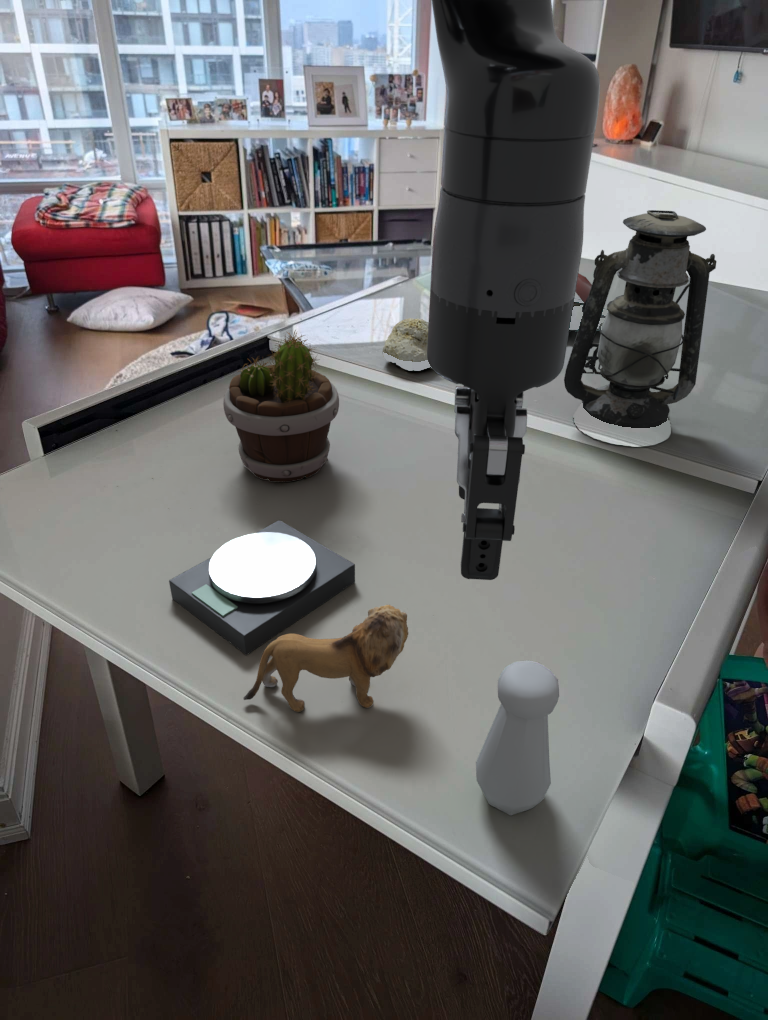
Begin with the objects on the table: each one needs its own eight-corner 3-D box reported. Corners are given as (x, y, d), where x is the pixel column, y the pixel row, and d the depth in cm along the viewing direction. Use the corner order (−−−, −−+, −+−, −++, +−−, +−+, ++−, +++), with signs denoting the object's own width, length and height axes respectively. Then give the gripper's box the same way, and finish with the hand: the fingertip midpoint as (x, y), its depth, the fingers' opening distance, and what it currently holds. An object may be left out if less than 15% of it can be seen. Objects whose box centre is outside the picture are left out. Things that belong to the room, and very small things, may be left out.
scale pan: (256, 619, 72) (256, 613, 72) (187, 570, 78) (186, 564, 78) (338, 567, 79) (338, 561, 78) (268, 525, 85) (268, 519, 84)
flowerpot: (211, 455, 103) (193, 312, 92) (310, 428, 110) (305, 293, 99) (255, 506, 93) (241, 353, 82) (362, 473, 100) (362, 327, 89)
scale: (246, 655, 72) (243, 634, 71) (171, 598, 79) (168, 578, 77) (355, 582, 81) (355, 562, 80) (280, 537, 88) (279, 518, 86)
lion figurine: (399, 661, 72) (402, 587, 67) (412, 703, 67) (416, 628, 62) (242, 682, 69) (233, 608, 64) (245, 728, 65) (236, 652, 60)
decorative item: (374, 325, 134) (427, 302, 132) (394, 370, 138) (445, 348, 136) (373, 342, 123) (430, 318, 122) (394, 390, 127) (450, 367, 125)
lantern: (563, 444, 108) (601, 225, 91) (548, 388, 124) (577, 192, 107) (697, 450, 107) (759, 230, 90) (664, 392, 123) (712, 196, 106)
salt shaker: (528, 838, 57) (554, 721, 50) (460, 802, 59) (474, 686, 52) (557, 782, 61) (583, 666, 54) (492, 750, 63) (509, 636, 56)
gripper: (432, 243, 46) (420, 473, 55) (428, 328, 34) (414, 604, 43) (558, 247, 45) (525, 479, 54) (598, 334, 33) (547, 611, 42)
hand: (476, 534), depth 49 cm, fingers open, 8 cm apart
